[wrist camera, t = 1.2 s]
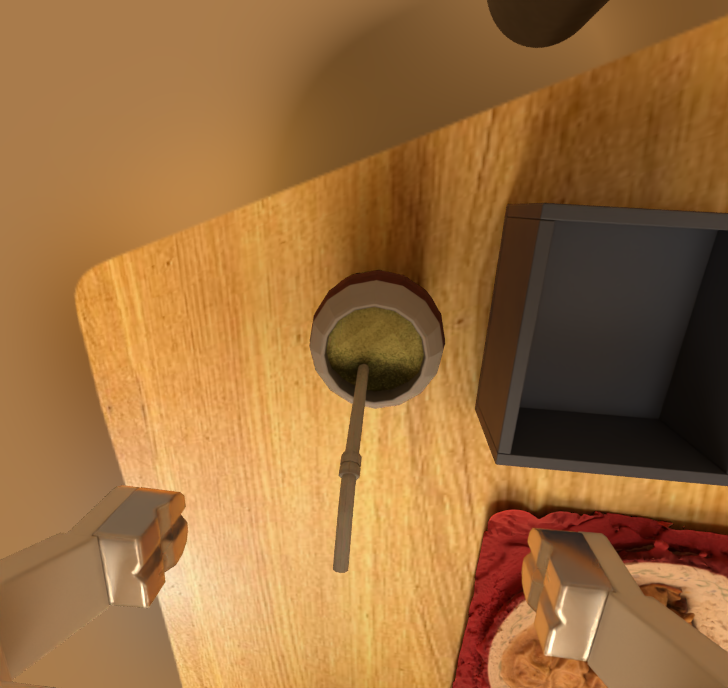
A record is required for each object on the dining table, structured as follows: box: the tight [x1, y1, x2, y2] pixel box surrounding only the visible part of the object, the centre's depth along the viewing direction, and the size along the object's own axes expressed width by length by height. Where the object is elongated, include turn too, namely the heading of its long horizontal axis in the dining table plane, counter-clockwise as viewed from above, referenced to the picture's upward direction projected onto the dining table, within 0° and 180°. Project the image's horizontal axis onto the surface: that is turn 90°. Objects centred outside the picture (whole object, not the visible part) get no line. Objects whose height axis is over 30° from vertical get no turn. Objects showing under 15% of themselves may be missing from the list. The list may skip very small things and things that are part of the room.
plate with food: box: [453, 509, 728, 688], centre depth 32 cm, size 24×26×3 cm
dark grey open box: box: [475, 203, 728, 486], centre depth 23 cm, size 13×12×6 cm
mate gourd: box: [310, 270, 445, 573], centre depth 20 cm, size 8×8×15 cm
